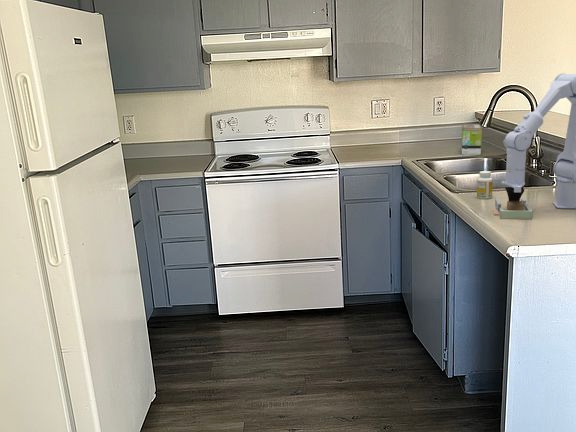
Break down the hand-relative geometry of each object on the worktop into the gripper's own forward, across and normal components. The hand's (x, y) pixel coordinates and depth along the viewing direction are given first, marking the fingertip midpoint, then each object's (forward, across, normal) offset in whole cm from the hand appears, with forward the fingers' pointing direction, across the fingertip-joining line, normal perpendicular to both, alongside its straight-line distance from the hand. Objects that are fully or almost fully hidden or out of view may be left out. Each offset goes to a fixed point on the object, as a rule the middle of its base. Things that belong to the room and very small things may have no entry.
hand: (513, 208), depth 186 cm
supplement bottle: (+2, -22, -8) cm, 23 cm away
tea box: (+2, -125, -6) cm, 125 cm away
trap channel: (+1, -2, 0) cm, 3 cm away
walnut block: (+1, +4, 0) cm, 4 cm away
